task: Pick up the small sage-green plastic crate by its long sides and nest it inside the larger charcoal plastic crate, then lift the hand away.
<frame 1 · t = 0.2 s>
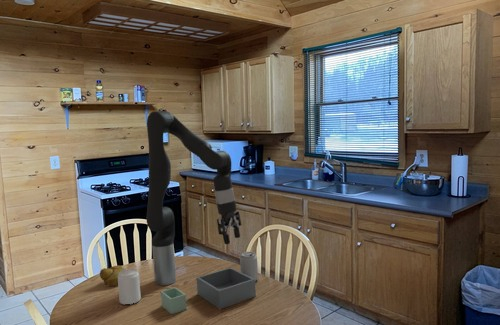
hand: (232, 240, 158), 22 cm above the table, tool pointing down, fingers open, 8 cm apart
big crate: (226, 295, 160), on the table
bread roll: (116, 282, 179), on the table
small crate: (174, 308, 151), on the table
white cylinder: (130, 301, 159), on the table
can: (249, 280, 174), on the table
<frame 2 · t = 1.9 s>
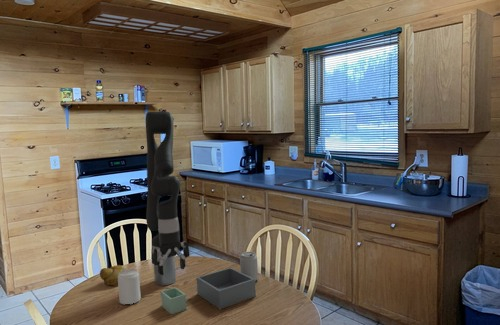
hand: (172, 271, 150), 14 cm above the table, tool pointing down, fingers open, 8 cm apart
nothing on the table moved.
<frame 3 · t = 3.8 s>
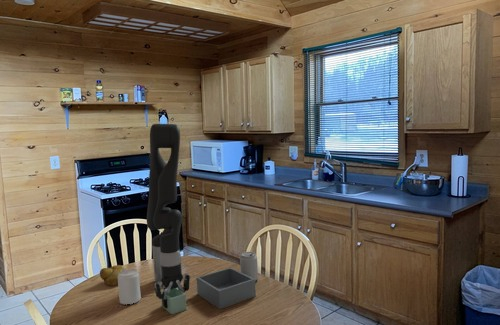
hand: (173, 304, 151), 1 cm above the table, tool pointing down, fingers closed on small crate, 6 cm apart
small crate: (174, 307, 151), on the table, touching gripper
everything else where it was.
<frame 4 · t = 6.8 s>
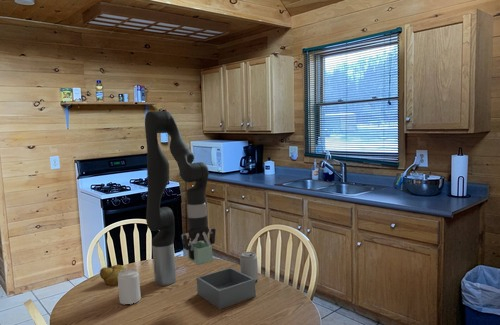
hand: (200, 257, 154), 18 cm above the table, tool pointing down, fingers closed on small crate, 6 cm apart
small crate: (200, 260, 154), point 17 cm above the table, touching gripper
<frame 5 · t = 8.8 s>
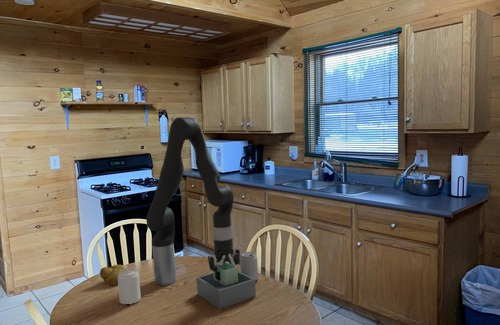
hand: (225, 277, 159), 7 cm above the table, tool pointing down, fingers closed on small crate, 6 cm apart
small crate: (225, 280, 159), point 6 cm above the table, touching gripper
when the fingers open (3 cm above the table, at t = 10.1 s): small crate drops 1 cm, resting on big crate.
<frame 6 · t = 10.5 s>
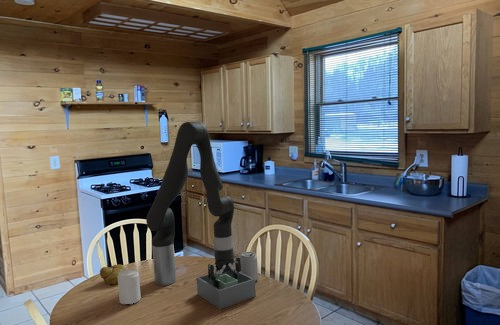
hand: (225, 285, 160), 4 cm above the table, tool pointing down, fingers open, 8 cm apart
small crate: (226, 293, 160), point 1 cm above the table, touching big crate
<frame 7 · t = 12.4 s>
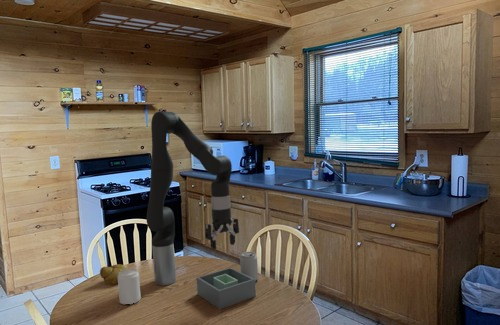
hand: (223, 246, 158), 20 cm above the table, tool pointing down, fingers open, 8 cm apart
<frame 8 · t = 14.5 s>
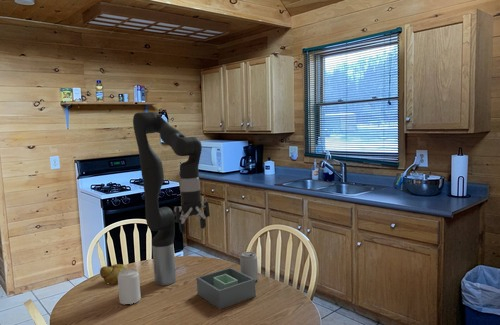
hand: (192, 230, 154), 28 cm above the table, tool pointing down, fingers open, 8 cm apart
at the end: small crate inside the target area on the big crate (0.1 cm from its centre), point 0.8 cm above the big crate's base; small crate tilted 0°; the gripper is holding nothing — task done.
